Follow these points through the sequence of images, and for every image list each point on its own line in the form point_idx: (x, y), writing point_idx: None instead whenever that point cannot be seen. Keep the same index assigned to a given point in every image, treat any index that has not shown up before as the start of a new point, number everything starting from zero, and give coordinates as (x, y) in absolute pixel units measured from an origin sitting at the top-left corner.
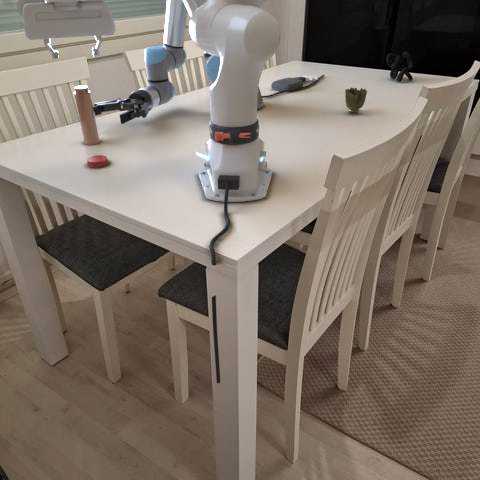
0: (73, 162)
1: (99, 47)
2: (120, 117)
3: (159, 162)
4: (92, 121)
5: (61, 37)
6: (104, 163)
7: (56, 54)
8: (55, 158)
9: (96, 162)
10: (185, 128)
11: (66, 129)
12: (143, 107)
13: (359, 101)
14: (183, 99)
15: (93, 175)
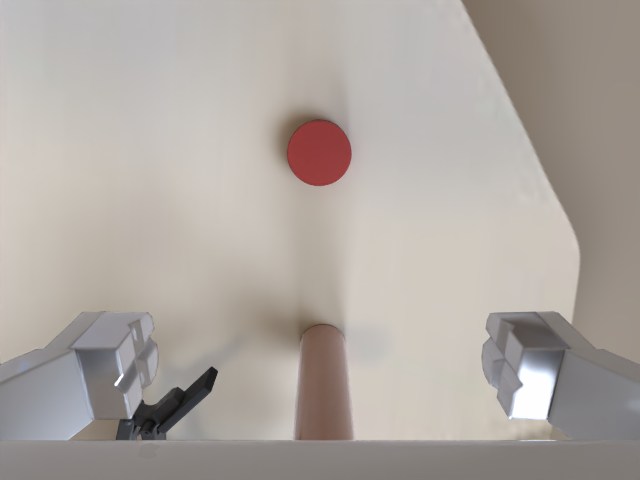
0: (390, 197)
1: (24, 355)
2: (211, 383)
3: (121, 90)
4: (308, 371)
5: (521, 442)
6: (298, 128)
7: (528, 329)
8: (438, 251)
9: (323, 121)
10: None
11: None
12: None
13: None
14: None
15: (341, 58)
